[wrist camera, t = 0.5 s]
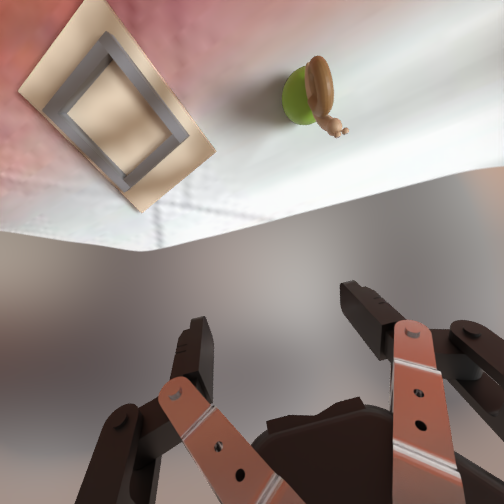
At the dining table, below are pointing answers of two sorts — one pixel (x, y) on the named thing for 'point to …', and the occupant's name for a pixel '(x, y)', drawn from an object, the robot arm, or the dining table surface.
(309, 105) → the snail figurine
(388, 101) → the dining table surface
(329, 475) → the robot arm
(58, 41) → the board
